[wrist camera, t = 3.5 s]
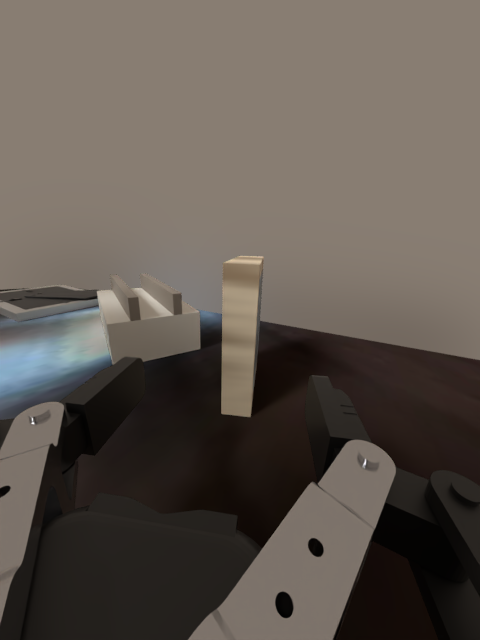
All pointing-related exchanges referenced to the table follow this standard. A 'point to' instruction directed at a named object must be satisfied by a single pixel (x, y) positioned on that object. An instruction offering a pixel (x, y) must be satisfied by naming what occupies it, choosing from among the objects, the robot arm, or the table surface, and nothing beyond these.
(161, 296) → the picture ledge
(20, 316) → the picture frame
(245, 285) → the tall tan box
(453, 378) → the table surface
